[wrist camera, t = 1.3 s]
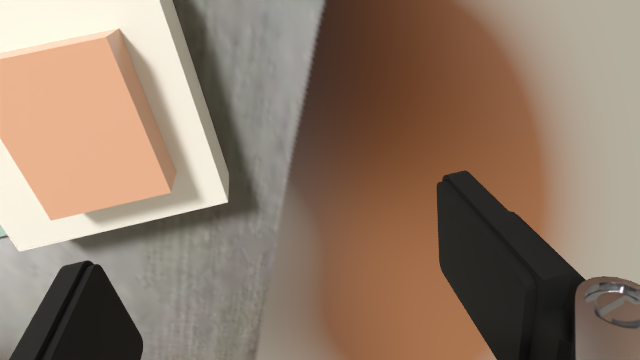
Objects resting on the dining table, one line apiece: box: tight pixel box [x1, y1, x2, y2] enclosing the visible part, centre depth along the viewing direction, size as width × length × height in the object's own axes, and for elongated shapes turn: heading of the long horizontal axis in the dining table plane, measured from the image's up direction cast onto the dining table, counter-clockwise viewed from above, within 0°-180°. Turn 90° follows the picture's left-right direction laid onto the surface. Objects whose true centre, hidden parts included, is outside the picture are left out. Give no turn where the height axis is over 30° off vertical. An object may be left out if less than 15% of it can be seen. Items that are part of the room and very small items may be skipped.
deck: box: [0, 0, 229, 252], centre depth 26 cm, size 15×14×4 cm
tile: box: [0, 28, 176, 221], centre depth 23 cm, size 9×7×2 cm
